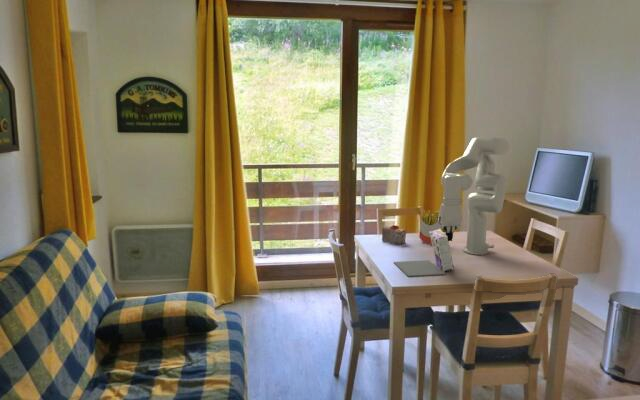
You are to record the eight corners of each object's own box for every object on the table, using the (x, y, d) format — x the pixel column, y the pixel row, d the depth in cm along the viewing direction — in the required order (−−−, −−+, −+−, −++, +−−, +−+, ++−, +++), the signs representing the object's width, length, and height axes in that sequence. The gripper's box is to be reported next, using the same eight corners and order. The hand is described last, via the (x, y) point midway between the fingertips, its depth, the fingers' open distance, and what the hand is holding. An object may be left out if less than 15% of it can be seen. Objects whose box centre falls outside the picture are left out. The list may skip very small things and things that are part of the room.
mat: (428, 261, 237) (428, 260, 237) (445, 274, 218) (445, 273, 218) (393, 263, 234) (393, 261, 234) (407, 276, 215) (407, 275, 215)
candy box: (435, 262, 235) (428, 231, 232) (447, 260, 235) (440, 228, 232) (442, 272, 221) (434, 238, 219) (454, 269, 221) (447, 235, 218)
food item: (408, 243, 270) (408, 226, 268) (400, 246, 264) (400, 228, 262) (388, 238, 279) (388, 222, 277) (379, 241, 273) (380, 224, 271)
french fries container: (437, 244, 267) (438, 213, 263) (418, 241, 273) (420, 210, 269) (440, 243, 270) (441, 211, 267) (422, 240, 276) (423, 209, 273)
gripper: (462, 200, 227) (460, 237, 231) (432, 200, 225) (430, 238, 228) (470, 203, 220) (467, 241, 223) (439, 203, 218) (437, 243, 221)
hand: (448, 240), depth 226 cm, fingers closed
